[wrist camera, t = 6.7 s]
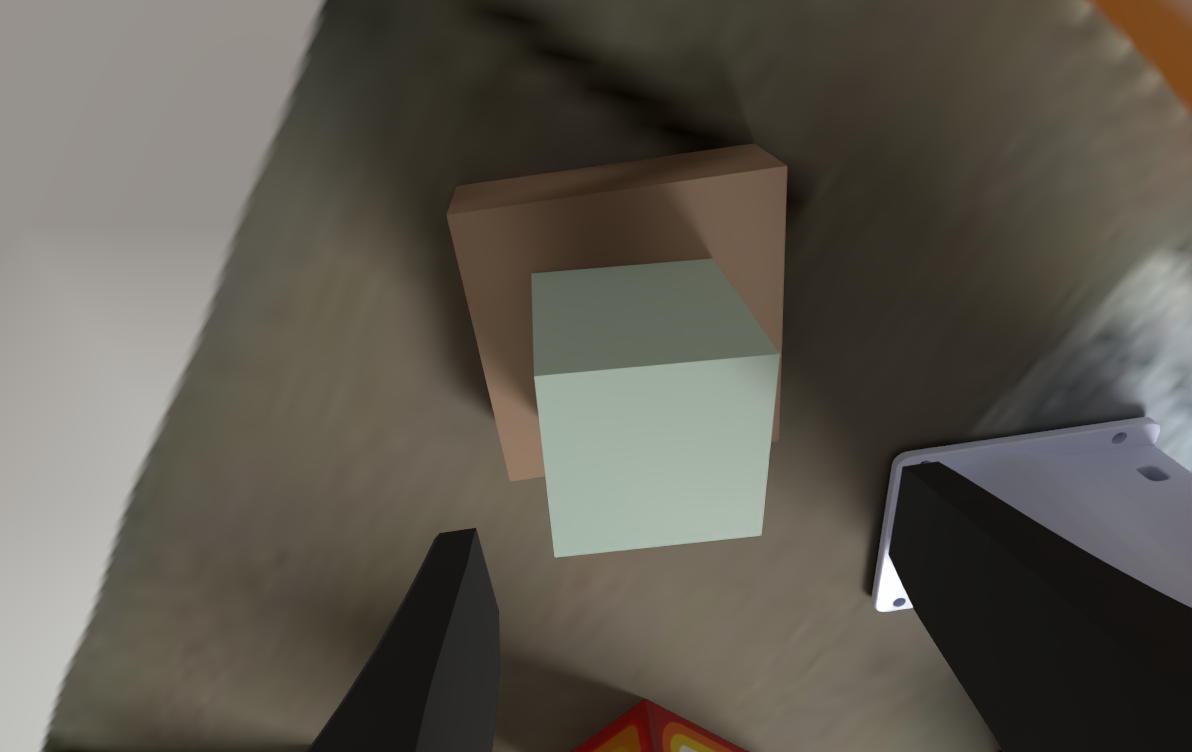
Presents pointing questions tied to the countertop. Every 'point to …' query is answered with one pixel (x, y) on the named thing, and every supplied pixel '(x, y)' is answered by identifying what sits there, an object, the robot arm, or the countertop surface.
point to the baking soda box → (655, 734)
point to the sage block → (651, 406)
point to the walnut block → (610, 254)
